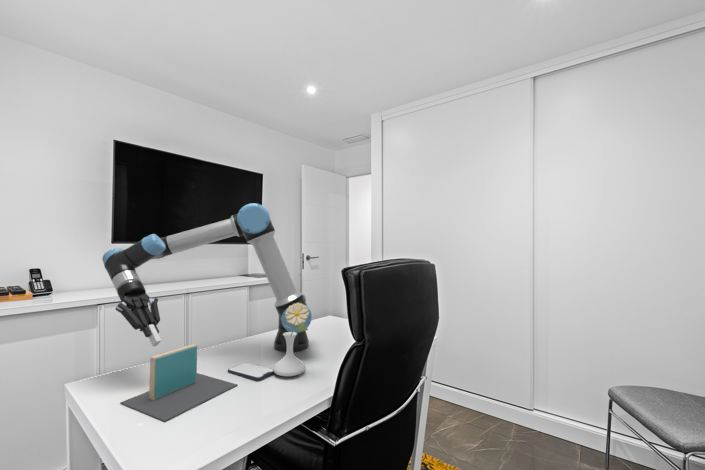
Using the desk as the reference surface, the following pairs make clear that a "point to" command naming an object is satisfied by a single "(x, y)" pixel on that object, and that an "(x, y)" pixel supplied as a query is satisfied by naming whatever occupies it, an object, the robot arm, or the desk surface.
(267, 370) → the smartphone
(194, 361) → the tile
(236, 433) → the desk surface
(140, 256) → the robot arm
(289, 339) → the flower in vase
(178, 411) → the mat
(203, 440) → the desk surface
